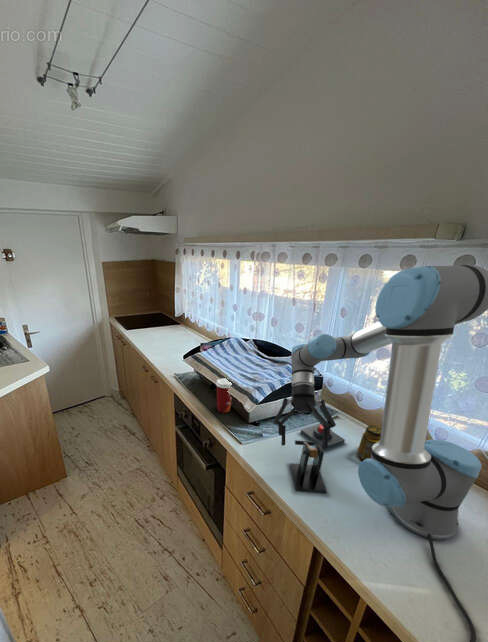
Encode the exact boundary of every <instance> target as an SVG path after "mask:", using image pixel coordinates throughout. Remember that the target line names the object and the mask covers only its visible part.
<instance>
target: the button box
mask: <svg viewBox="0 0 488 642" xmlns="http://www.w3.org/2000/svg"><path fill="white" fill-rule="evenodd" d="M319 425H321V424H320V423H318V424H314V425H311V426H309V427H305V428H302V429H301V430H300V435H302V436H304V438H306V439H308V441H314V445H316V446H317V444H321V447H322V449H323V451H326V450H330V449H331V448H334V447H337V446H340V445H343V444H345V442H346V439H345V438H343V437H341V436H340V435H338V434H337V433H335V432H334V431H333V429H332V428H330V438H327V439H328V447H327V448H323V439H322V433H320V432H318V429H319Z"/></svg>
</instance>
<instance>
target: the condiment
mask: <svg viewBox="0 0 488 642" xmlns="http://www.w3.org/2000/svg"><path fill="white" fill-rule="evenodd" d="M381 430H382V427H379V426H376V425H368V426H367V427H366V428H365V431H364V432H363V433H362V436H361V439H360V442H359V446H358V448H357V450H356V451H355V454H356V455H357V457H358V459H359V461H360V463H361V462H362V461H363V460H365V459H370V458H371V452H372V446H373V445H374V444H375V443H377V442H379V441H380V438H381Z"/></svg>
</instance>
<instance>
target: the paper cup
mask: <svg viewBox="0 0 488 642" xmlns="http://www.w3.org/2000/svg"><path fill="white" fill-rule="evenodd" d="M227 379H228V378H227ZM227 379H226V377H221V378H218V379H217V381H216V382H215V386H216V407H217V411H218V412H220V413H225V414H226V413H228V412H230V410H231V404H232V397H233V396H232V397H231V396H230V394H229V393H228V392H227V391H228V389H229V388H230V386H231V385H232V383H231V382H229V381H228V380H227Z"/></svg>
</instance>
